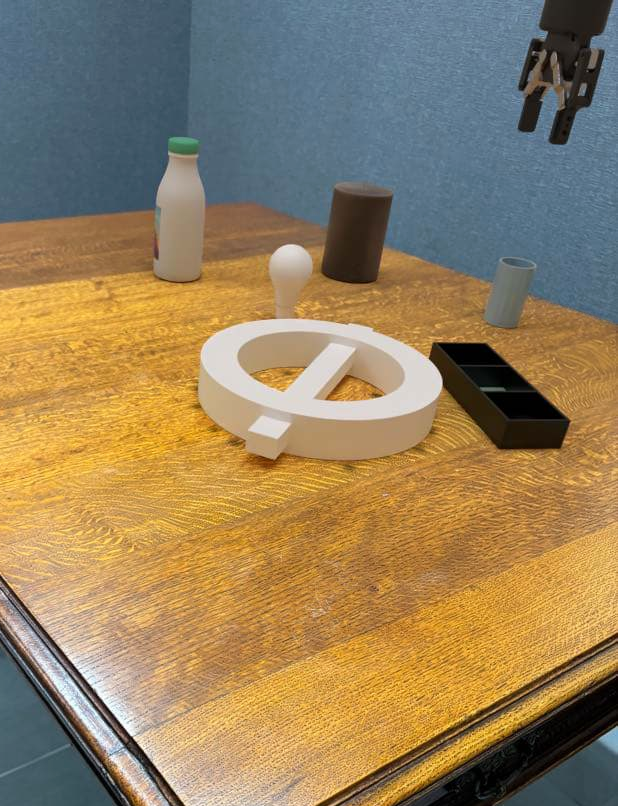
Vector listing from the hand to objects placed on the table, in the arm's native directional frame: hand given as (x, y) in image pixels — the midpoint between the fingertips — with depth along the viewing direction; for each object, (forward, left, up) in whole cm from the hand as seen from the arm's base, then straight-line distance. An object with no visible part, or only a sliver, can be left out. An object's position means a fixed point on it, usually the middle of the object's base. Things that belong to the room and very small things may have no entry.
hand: (540, 137), depth 104 cm
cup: (-5, -5, -27) cm, 28 cm away
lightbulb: (+30, -3, -27) cm, 40 cm away
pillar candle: (+13, -26, -27) cm, 40 cm away
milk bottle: (+43, -23, -27) cm, 56 cm away
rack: (+10, +23, -27) cm, 36 cm away
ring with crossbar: (+32, +22, -27) cm, 47 cm away
